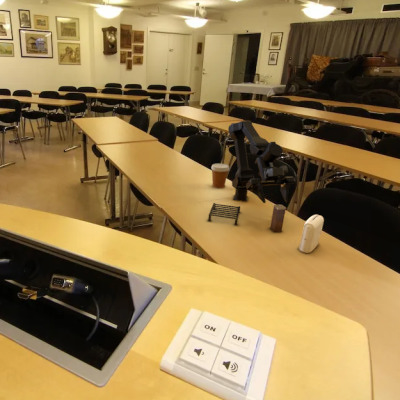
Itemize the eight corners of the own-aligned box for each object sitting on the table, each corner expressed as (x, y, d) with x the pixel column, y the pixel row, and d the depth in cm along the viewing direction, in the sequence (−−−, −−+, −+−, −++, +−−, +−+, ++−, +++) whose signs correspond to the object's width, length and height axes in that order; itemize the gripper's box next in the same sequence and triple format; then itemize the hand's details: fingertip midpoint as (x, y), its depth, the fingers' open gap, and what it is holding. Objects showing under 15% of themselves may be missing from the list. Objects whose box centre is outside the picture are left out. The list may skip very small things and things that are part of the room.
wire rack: (213, 208, 151) (213, 202, 150) (239, 212, 147) (240, 206, 145) (208, 221, 139) (208, 214, 138) (236, 225, 135) (237, 219, 134)
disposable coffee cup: (220, 190, 172) (223, 169, 167) (206, 186, 179) (207, 165, 174) (230, 186, 178) (233, 165, 173) (216, 182, 184) (218, 162, 180)
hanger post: (269, 228, 132) (273, 204, 127) (277, 227, 132) (281, 204, 128) (273, 232, 128) (278, 208, 124) (281, 231, 129) (286, 207, 125)
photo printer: (309, 254, 113) (316, 223, 108) (296, 250, 116) (303, 219, 111) (319, 244, 119) (327, 214, 115) (307, 240, 122) (314, 210, 118)
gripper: (252, 159, 127) (262, 195, 121) (297, 157, 128) (309, 192, 122) (241, 172, 137) (250, 206, 131) (283, 170, 138) (293, 203, 133)
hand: (275, 202), depth 129 cm, fingers open, 9 cm apart
